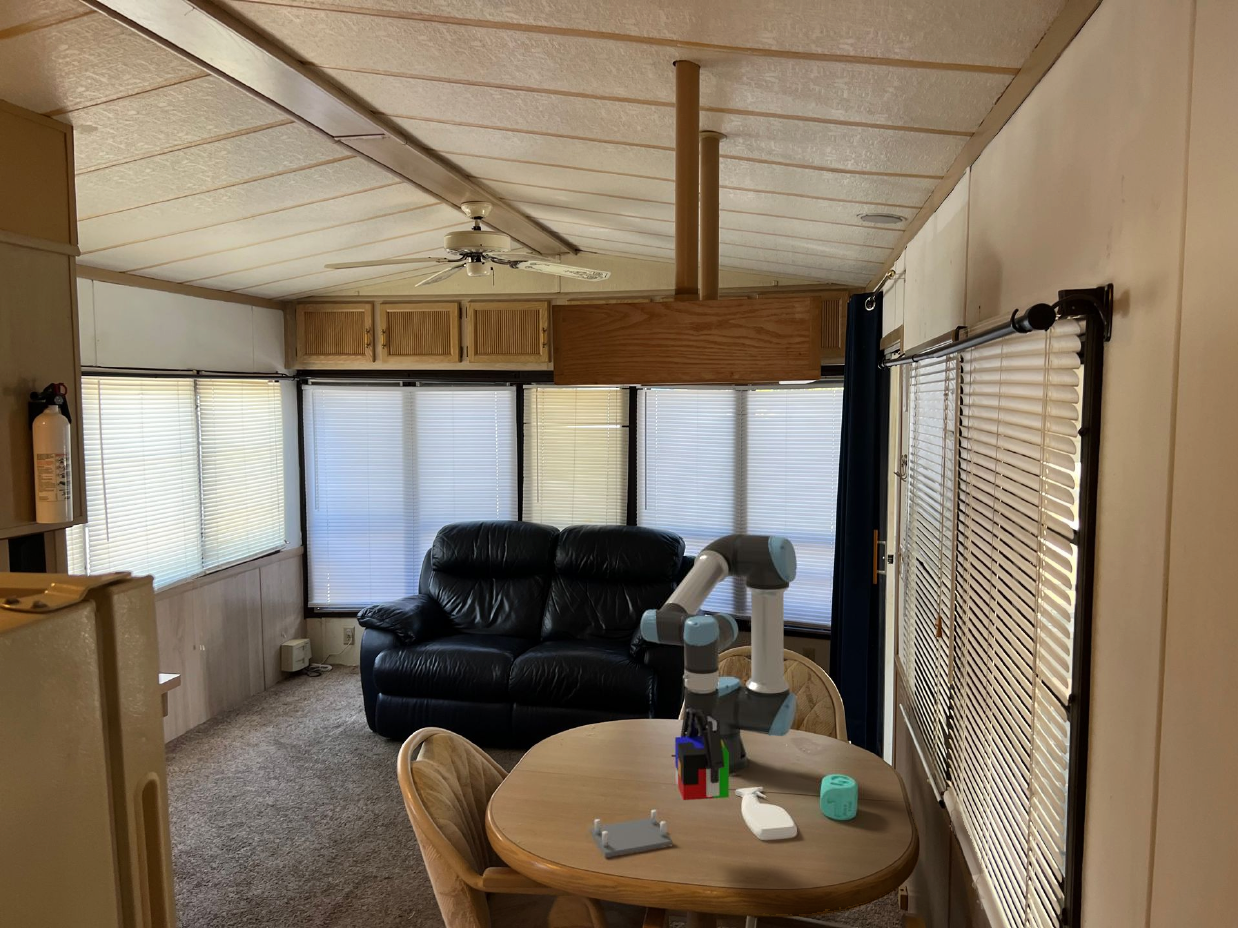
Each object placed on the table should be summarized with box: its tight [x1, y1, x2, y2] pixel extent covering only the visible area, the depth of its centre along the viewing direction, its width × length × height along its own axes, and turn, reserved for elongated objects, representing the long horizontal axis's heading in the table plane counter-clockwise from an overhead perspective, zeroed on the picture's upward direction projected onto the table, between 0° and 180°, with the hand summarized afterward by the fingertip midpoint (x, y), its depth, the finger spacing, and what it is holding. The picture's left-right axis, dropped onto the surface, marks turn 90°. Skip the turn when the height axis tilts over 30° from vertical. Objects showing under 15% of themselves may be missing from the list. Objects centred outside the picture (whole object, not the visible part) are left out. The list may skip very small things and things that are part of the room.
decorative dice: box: [819, 773, 859, 821], centre depth 212 cm, size 8×8×8 cm
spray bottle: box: [735, 786, 798, 841], centre depth 211 cm, size 3×11×24 cm
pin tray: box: [589, 809, 673, 859], centre depth 200 cm, size 16×12×4 cm
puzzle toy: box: [674, 736, 730, 801], centre depth 192 cm, size 10×10×10 cm
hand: (701, 784), depth 192 cm, fingers closed on puzzle toy, 11 cm apart
